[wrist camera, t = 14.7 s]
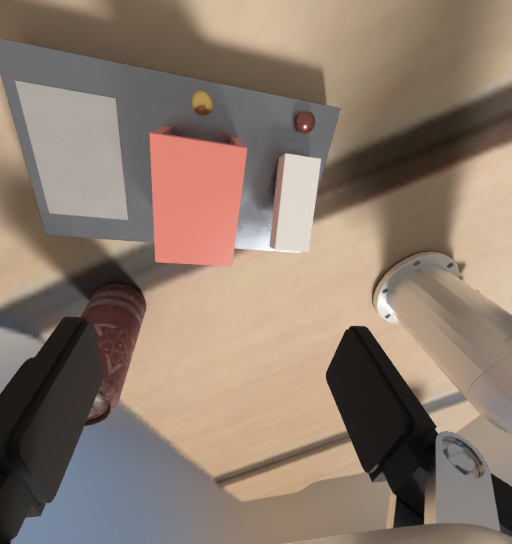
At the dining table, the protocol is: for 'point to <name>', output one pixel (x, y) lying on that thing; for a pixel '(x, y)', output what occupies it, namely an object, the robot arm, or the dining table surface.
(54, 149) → the panel
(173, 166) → the cap
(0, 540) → the robot arm
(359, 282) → the dining table surface
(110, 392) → the can
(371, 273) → the dining table surface
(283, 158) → the block
